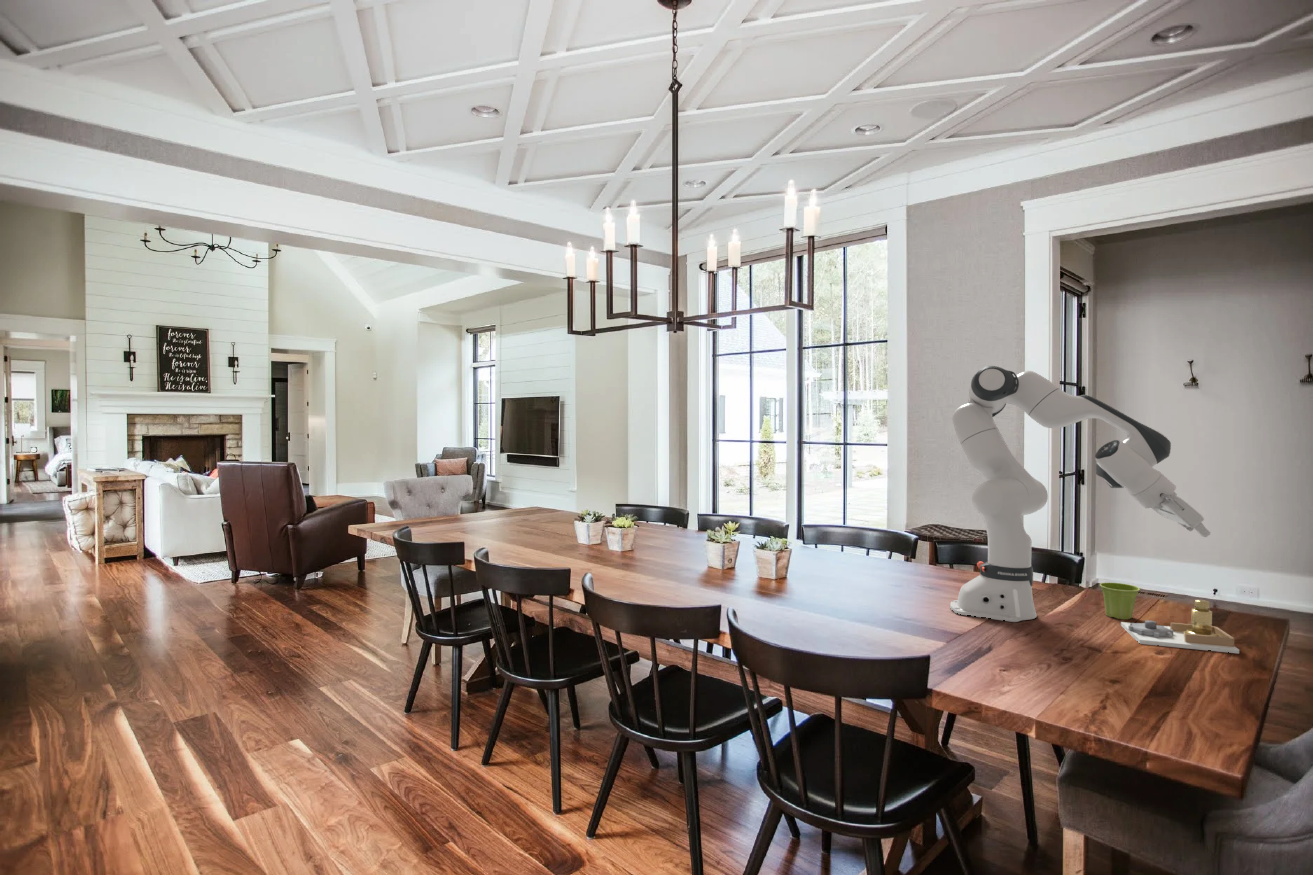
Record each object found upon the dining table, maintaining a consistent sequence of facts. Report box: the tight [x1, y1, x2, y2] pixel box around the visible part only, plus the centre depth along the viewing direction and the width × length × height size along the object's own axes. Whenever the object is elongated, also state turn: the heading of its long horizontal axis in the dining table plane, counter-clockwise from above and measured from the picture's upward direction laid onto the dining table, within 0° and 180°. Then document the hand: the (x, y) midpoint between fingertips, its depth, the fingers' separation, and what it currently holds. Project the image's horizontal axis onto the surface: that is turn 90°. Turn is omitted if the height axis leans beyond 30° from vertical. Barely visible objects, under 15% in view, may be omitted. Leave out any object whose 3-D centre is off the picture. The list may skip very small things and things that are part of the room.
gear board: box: [1120, 619, 1240, 654], centre depth 173 cm, size 20×16×4 cm
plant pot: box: [1099, 582, 1141, 620], centre depth 193 cm, size 9×9×9 cm
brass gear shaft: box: [1184, 599, 1219, 637], centre depth 170 cm, size 7×6×9 cm
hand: (1199, 532), depth 174 cm, fingers open, 8 cm apart
